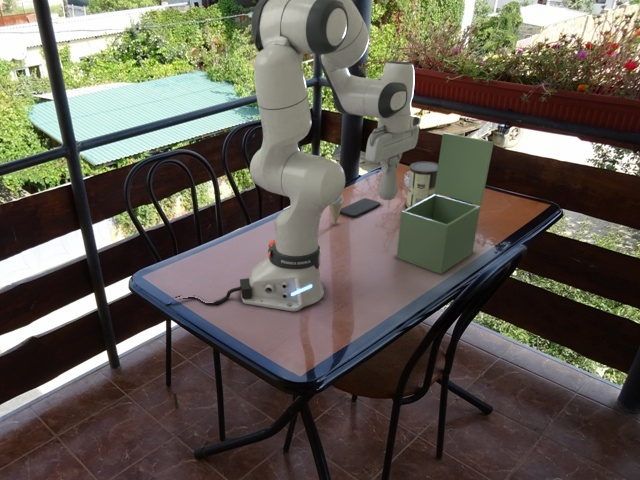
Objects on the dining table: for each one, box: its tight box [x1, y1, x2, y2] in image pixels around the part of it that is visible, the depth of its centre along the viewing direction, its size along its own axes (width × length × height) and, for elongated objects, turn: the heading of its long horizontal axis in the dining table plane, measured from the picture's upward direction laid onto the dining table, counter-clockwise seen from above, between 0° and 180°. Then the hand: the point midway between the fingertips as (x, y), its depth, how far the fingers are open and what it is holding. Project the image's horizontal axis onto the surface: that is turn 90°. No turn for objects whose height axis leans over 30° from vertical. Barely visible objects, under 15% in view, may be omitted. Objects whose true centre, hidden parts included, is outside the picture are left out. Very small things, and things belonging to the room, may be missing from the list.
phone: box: [339, 198, 381, 218], centre depth 195 cm, size 7×1×15 cm
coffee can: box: [406, 161, 439, 208], centre depth 191 cm, size 10×10×14 cm
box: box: [396, 194, 481, 275], centre depth 160 cm, size 17×15×15 cm
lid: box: [434, 132, 495, 206], centre depth 157 cm, size 18×15×5 cm
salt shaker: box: [377, 155, 399, 201], centre depth 165 cm, size 6×6×13 cm
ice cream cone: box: [328, 193, 344, 225], centre depth 183 cm, size 5×5×15 cm
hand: (389, 170), depth 164 cm, fingers closed on salt shaker, 3 cm apart
